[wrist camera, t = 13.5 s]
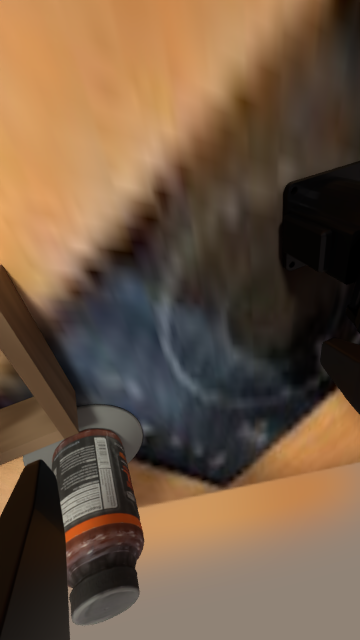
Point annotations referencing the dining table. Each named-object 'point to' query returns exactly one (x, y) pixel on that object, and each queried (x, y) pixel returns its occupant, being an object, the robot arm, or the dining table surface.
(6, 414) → the walnut box
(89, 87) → the dining table surface
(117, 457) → the supplement bottle
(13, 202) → the dining table surface
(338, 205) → the robot arm
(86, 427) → the rubber mat
